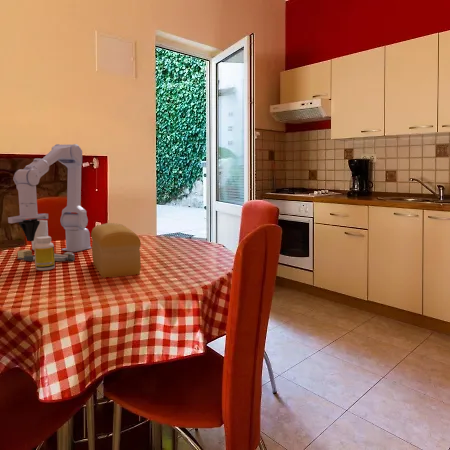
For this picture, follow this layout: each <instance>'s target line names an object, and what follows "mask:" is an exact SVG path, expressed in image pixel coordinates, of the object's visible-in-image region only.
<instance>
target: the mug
mask: <svg viewBox="0 0 450 450" xmlns="http://www.w3.org/2000/svg"><path fill="white" fill-rule="evenodd" d="M37 221H40V224H39V226H38V228H37V230H36V233H35V237H34V241H31V250H33V251H34V246H35V244H37V242H36V238H37V237H41V236H49V227H48V219H40V220H37Z"/></svg>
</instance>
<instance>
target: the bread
mask: <svg viewBox="0 0 450 450" xmlns="http://www.w3.org/2000/svg"><path fill="white" fill-rule="evenodd" d="M90 238H91V241H92V246H91V247H92V248H91V250H92V251H91V254H92V255H91V256H92V262H93V265H94V266H95V267H94V268H96V270H97V271H99V272H98V273H99V274H100V276H101V278H103V277H104V279H107V278H106V277H109V278H116V277H117V276H118V277H127V275H128V276H135V275H136V274H137V275H140V274H141V268H142V267H141V266H142V265H141V264H142V263H141V250H140V249H141V239H140V237H139V236H138V234H137V233H136V232H135V231H133V230H131V229H130V228H128V227H127V226H125V225H124V224H121V223H115V222H106V223H102V224H98V225H95V226H94V227H92V230H91V233H90ZM118 277H117V278H118Z"/></svg>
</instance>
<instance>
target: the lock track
mask: <svg viewBox="0 0 450 450" xmlns="http://www.w3.org/2000/svg"><path fill="white" fill-rule="evenodd" d="M17 260H23V261H25V260H24V258H20V257H17ZM26 261H28V262H35V260H32V261H31V260H26Z"/></svg>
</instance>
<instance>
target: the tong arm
mask: <svg viewBox="0 0 450 450" xmlns="http://www.w3.org/2000/svg"><path fill="white" fill-rule="evenodd" d="M71 254H74V252H72V251H67V252H63V255H67V256H68V255H71ZM27 260H31V261H30V262H33V261H32V260H35V254H32V255H26V256H24V260H23V261H27ZM66 261H67V262H68V260H67V257H55V262H66Z"/></svg>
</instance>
